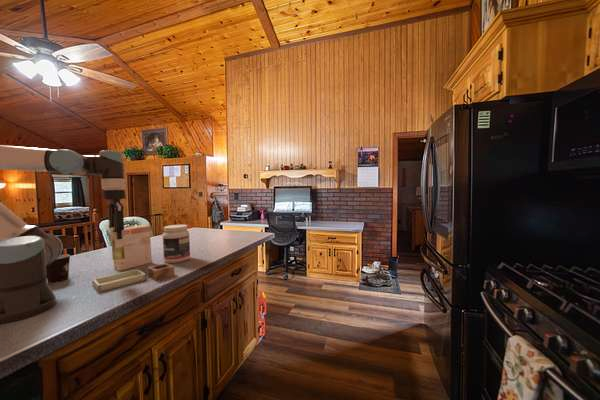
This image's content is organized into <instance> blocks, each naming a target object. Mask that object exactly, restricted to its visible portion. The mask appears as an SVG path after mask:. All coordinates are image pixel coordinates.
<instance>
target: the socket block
mask: <svg viewBox="0 0 600 400" xmlns="http://www.w3.org/2000/svg"><path fill="white" fill-rule="evenodd" d="M172 276H175V266H174V265H173V264H171V263H168V262H164V263H160V264H156V265H153V266H152V265H151V266H148V267H147V277H148V278H150V279H151V280H154V281H158V280H161V279H165V278H170V277H172Z"/></svg>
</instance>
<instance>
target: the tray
mask: <svg viewBox="0 0 600 400" xmlns="http://www.w3.org/2000/svg"><path fill="white" fill-rule="evenodd" d="M143 281H147V274H146V273H145V272H143V271H142V270H140V269H139V268H135V269H131V270H126V271H123V272H117V273H114V274H108V275H105V276H100V277H95V278H92V279H91V284H92V287H93V288H94V289H95V290H96V291H97V292H98V293H102V292H104V291H109V290H113V289H117V288H119V287H121V288H122V287H123V286H124V287H125V286H128V285H130V284H131V285H132V284H135V283H139V282H143Z"/></svg>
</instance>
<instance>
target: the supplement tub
mask: <svg viewBox="0 0 600 400" xmlns="http://www.w3.org/2000/svg"><path fill="white" fill-rule="evenodd" d="M190 245H191V244H190V232H189V230H188V224H172V225H167V226H165V225H164V227H163V234H162V246H163V250H162V251H163V261H164V263H168V264H176V263H182V262H185V261H187V260H189V259H190V258H191V248H190V247H191V246H190Z"/></svg>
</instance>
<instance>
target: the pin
mask: <svg viewBox="0 0 600 400" xmlns="http://www.w3.org/2000/svg"><path fill="white" fill-rule="evenodd" d="M113 230H115V227H112V228H111V229H110V237H111V238H110V241H111V252H112V255H111V256H112V260H113V261H114V260H120V259H124V258H125V255H124V247H118V248H115V238H114V232H113ZM123 244H124V240H123Z"/></svg>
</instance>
